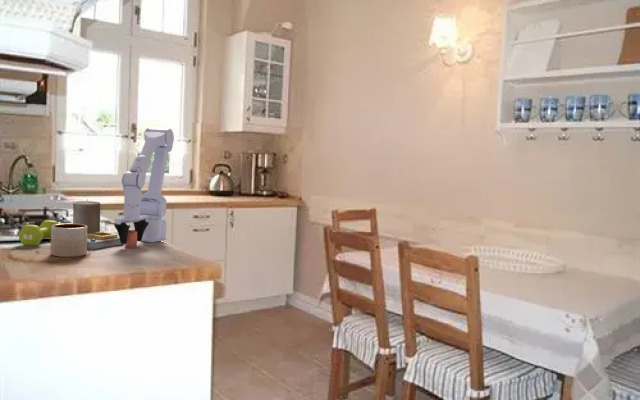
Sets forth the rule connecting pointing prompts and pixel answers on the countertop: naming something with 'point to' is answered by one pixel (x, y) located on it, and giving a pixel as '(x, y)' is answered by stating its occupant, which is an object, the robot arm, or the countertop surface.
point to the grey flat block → (102, 240)
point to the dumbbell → (36, 233)
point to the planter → (68, 240)
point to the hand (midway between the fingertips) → (131, 242)
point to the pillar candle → (87, 215)
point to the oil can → (131, 239)
